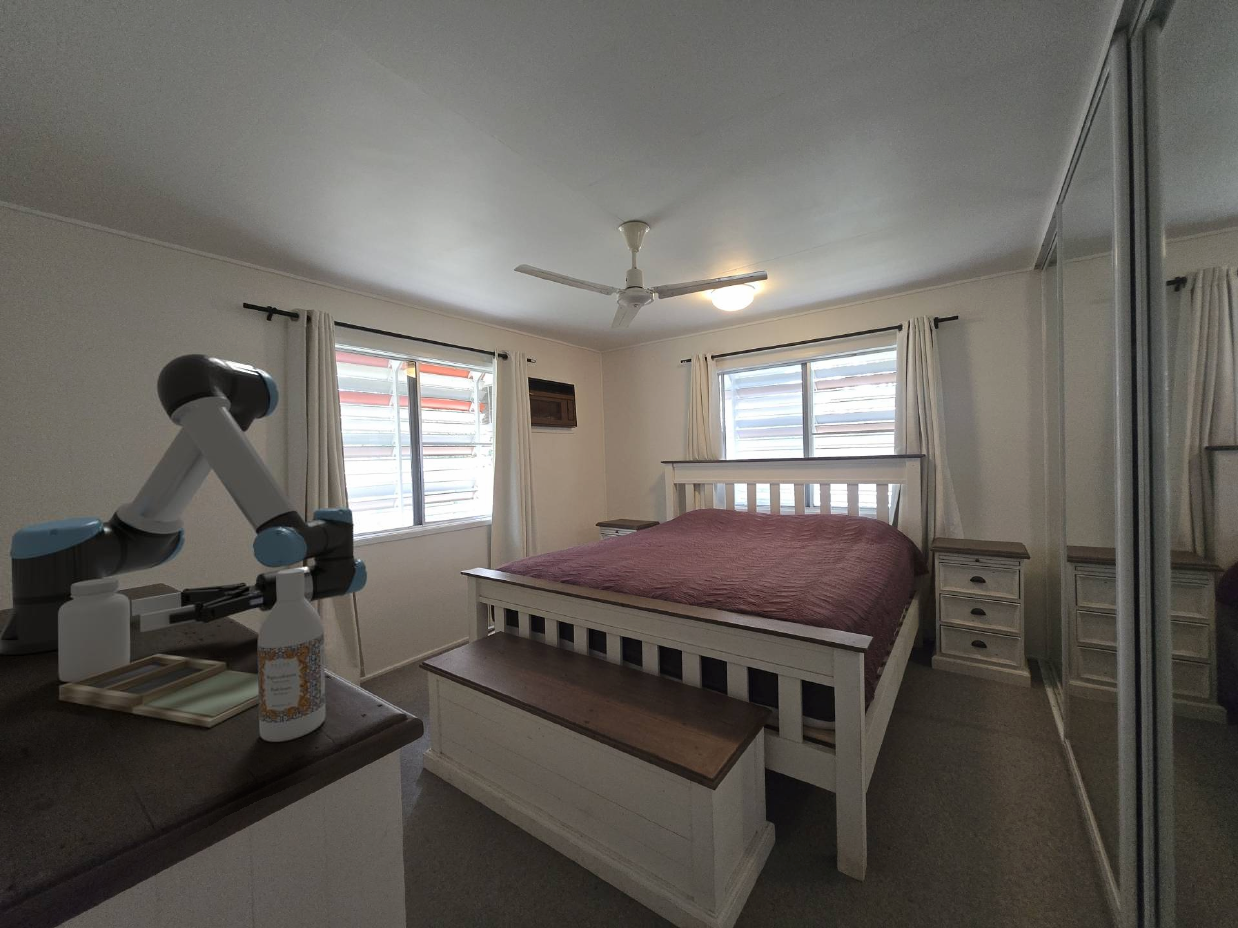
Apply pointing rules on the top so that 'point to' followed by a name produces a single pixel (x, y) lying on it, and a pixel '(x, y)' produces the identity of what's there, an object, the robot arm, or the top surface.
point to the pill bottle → (93, 630)
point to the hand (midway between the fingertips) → (135, 615)
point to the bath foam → (291, 663)
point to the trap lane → (168, 689)
